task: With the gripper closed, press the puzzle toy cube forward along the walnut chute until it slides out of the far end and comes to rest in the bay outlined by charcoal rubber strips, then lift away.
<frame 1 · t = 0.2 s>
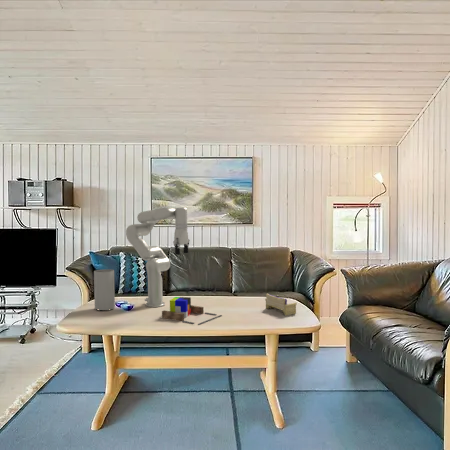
hand: (181, 253, 255), 36 cm above the table, tool pointing down, fingers open, 9 cm apart
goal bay: (199, 318, 235), on the table
chute: (183, 315, 242), on the table
toy sofa: (280, 311, 251), on the table
puzzle toy: (180, 315, 243), on the table
grey rounded tower: (104, 309, 261), on the table
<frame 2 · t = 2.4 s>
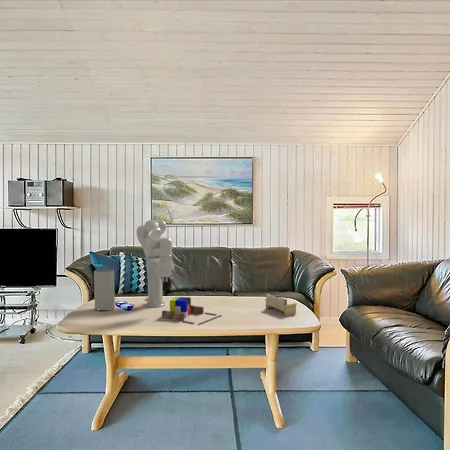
hand: (166, 288, 248), 16 cm above the table, tool pointing down, fingers closed
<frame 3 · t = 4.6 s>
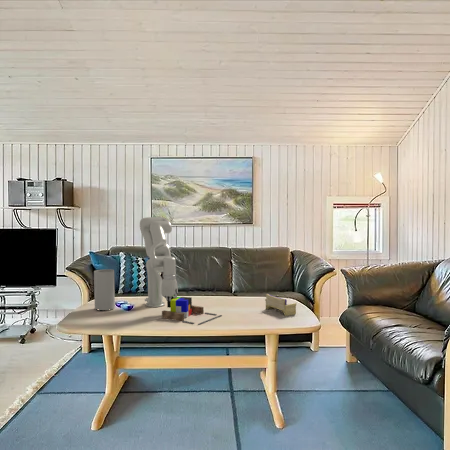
hand: (170, 307, 247), 4 cm above the table, tool pointing down, fingers closed
puzzle toy: (181, 315, 243), on the table, touching gripper
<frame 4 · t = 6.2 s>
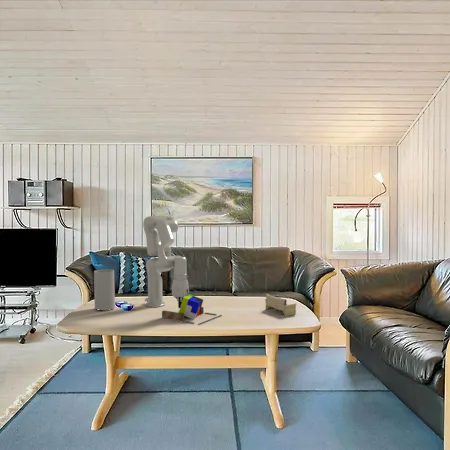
hand: (181, 307, 242), 5 cm above the table, tool pointing down, fingers closed
puzzle toy: (188, 314, 239), point 1 cm above the table, touching gripper
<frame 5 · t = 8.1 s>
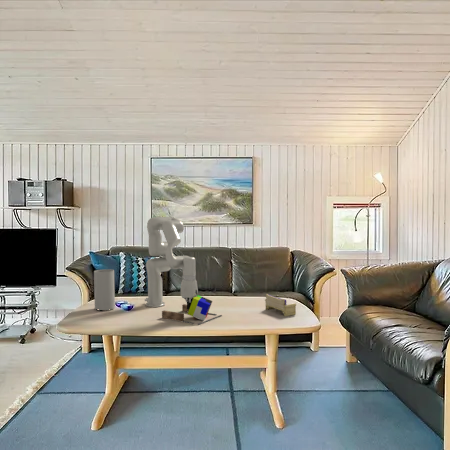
hand: (189, 308, 238), 5 cm above the table, tool pointing down, fingers closed
puzzle toy: (197, 315, 235), point 2 cm above the table, touching gripper
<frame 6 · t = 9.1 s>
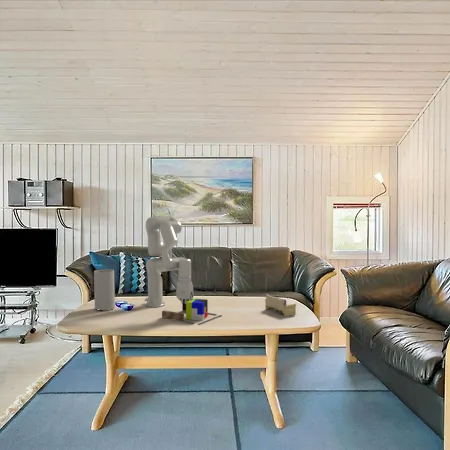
hand: (185, 309, 241), 4 cm above the table, tool pointing down, fingers closed
puzzle toy: (196, 318, 236), on the table, touching gripper
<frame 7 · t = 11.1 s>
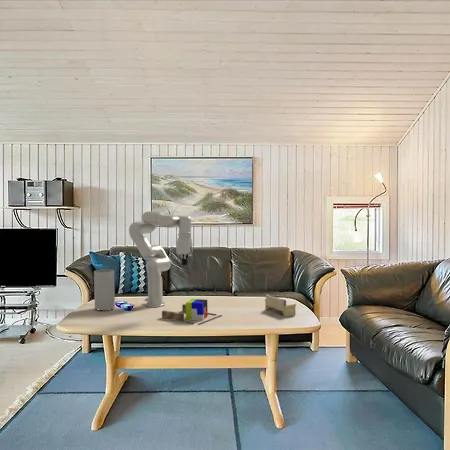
hand: (184, 264, 253), 29 cm above the table, tool pointing down, fingers closed
puzzle toy: (197, 318, 236), on the table
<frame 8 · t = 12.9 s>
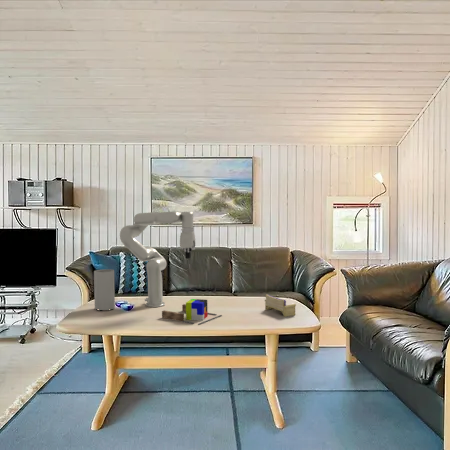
hand: (188, 258, 264), 32 cm above the table, tool pointing down, fingers closed
at the end: puzzle toy inside the target area (3.5 cm from its centre), on the table; puzzle toy tilted 0° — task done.
